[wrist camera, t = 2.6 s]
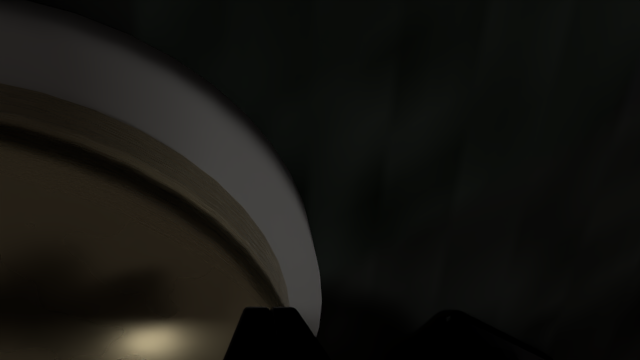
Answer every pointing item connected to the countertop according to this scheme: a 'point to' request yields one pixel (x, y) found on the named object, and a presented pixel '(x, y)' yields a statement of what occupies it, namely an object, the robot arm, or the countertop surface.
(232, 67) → the countertop surface
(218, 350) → the shallow round tray
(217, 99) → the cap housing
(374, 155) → the countertop surface
